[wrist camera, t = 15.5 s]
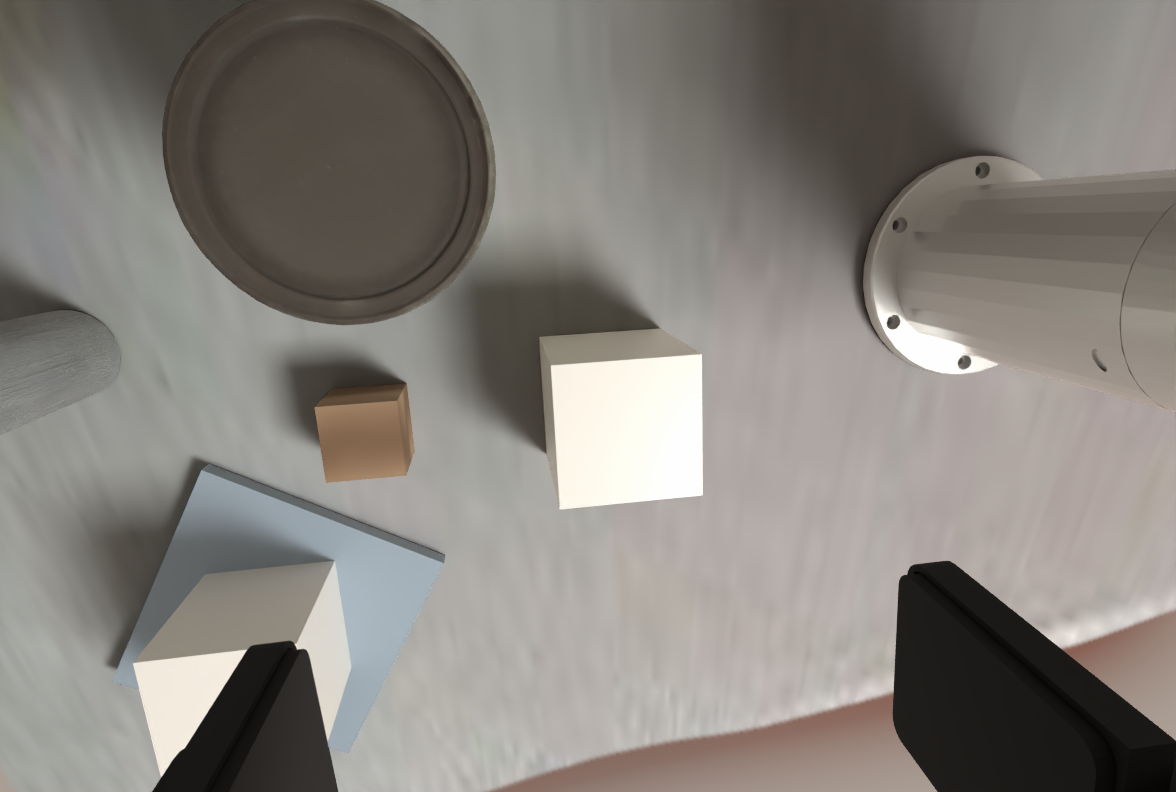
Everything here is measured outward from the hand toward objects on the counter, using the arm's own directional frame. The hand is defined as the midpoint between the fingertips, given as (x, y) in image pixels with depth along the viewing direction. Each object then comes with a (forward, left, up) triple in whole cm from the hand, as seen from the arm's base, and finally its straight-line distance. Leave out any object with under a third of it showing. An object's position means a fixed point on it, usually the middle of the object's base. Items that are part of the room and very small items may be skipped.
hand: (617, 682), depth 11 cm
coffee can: (+10, -5, -29) cm, 31 cm away
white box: (+6, +20, -28) cm, 35 cm away
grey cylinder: (+21, +10, -29) cm, 37 cm away
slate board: (+6, +20, -29) cm, 36 cm away
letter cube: (+6, +7, -29) cm, 31 cm away
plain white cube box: (-5, 0, -29) cm, 29 cm away
